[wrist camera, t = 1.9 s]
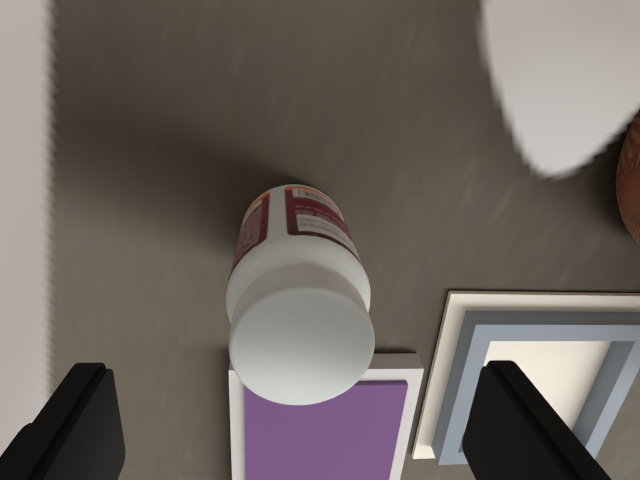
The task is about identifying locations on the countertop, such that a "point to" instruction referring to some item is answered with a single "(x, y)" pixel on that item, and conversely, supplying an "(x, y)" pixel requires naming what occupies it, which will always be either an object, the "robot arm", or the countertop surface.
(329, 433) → the ink pad
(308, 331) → the pill bottle
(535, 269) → the countertop surface
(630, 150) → the planter
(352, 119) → the countertop surface
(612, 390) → the square tray
